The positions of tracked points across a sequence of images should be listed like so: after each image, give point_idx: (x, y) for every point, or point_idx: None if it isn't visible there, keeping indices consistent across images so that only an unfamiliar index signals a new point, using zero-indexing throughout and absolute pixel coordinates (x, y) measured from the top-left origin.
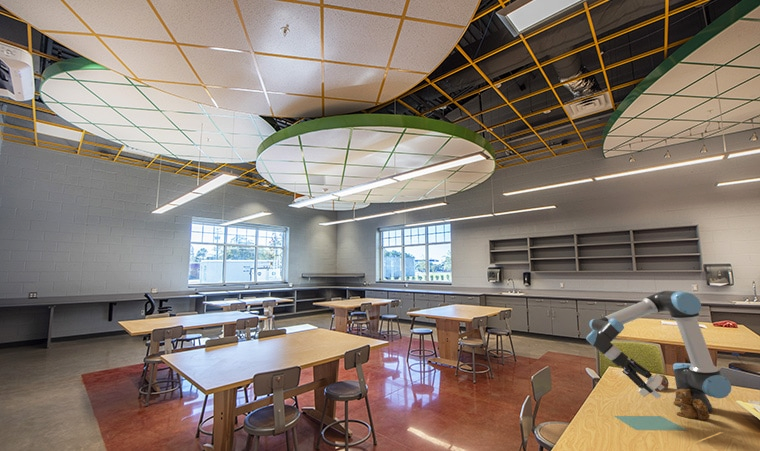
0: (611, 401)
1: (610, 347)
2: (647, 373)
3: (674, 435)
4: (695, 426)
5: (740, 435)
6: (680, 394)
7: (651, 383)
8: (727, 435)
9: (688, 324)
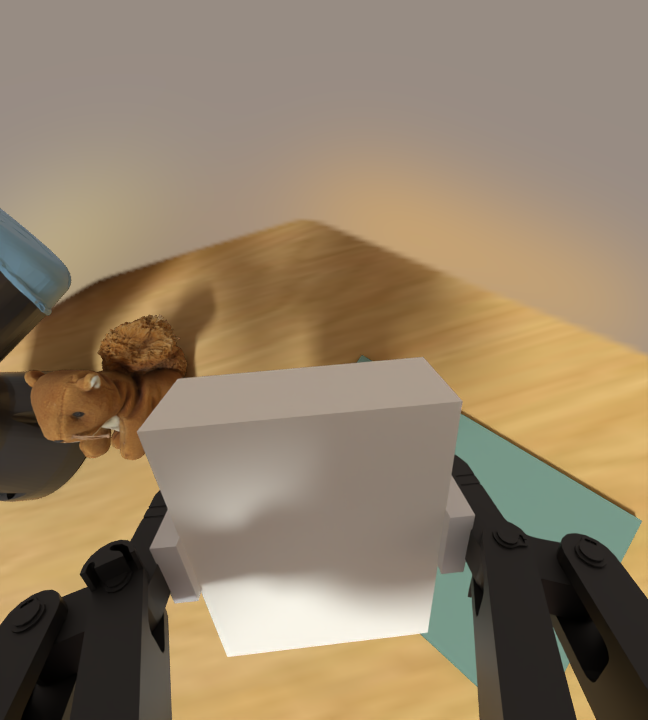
0: None
1: None
2: (114, 627)
3: (476, 373)
4: (277, 360)
5: (252, 257)
6: (91, 410)
7: (448, 459)
8: (285, 274)
9: None
